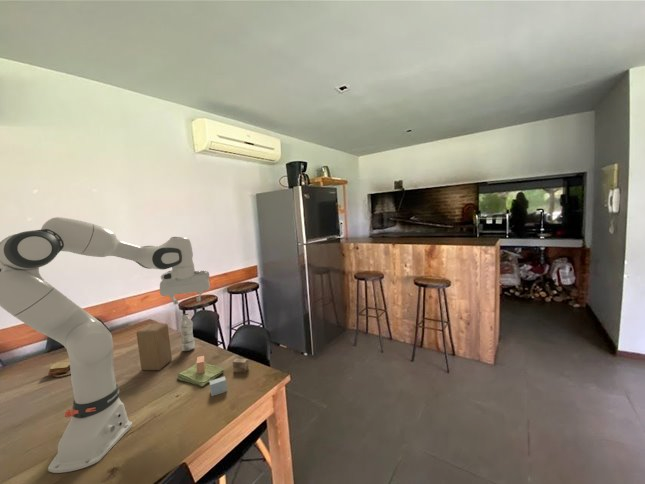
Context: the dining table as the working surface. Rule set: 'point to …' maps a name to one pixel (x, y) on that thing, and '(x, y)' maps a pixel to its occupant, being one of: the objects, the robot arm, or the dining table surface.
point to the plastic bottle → (187, 333)
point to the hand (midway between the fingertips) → (187, 302)
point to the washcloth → (200, 374)
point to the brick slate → (218, 386)
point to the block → (154, 346)
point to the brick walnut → (240, 365)
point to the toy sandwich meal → (60, 369)
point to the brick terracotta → (200, 364)
